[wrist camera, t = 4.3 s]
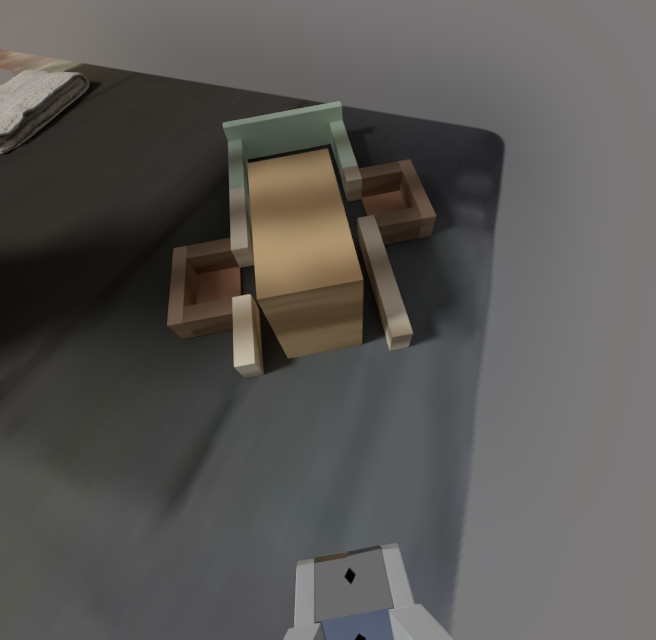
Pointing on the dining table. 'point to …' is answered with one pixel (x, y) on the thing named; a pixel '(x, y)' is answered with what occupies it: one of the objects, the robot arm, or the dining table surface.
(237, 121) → the end wall
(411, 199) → the lane
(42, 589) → the dining table surface
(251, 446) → the dining table surface
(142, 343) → the dining table surface
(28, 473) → the dining table surface
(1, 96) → the washcloth
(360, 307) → the block
